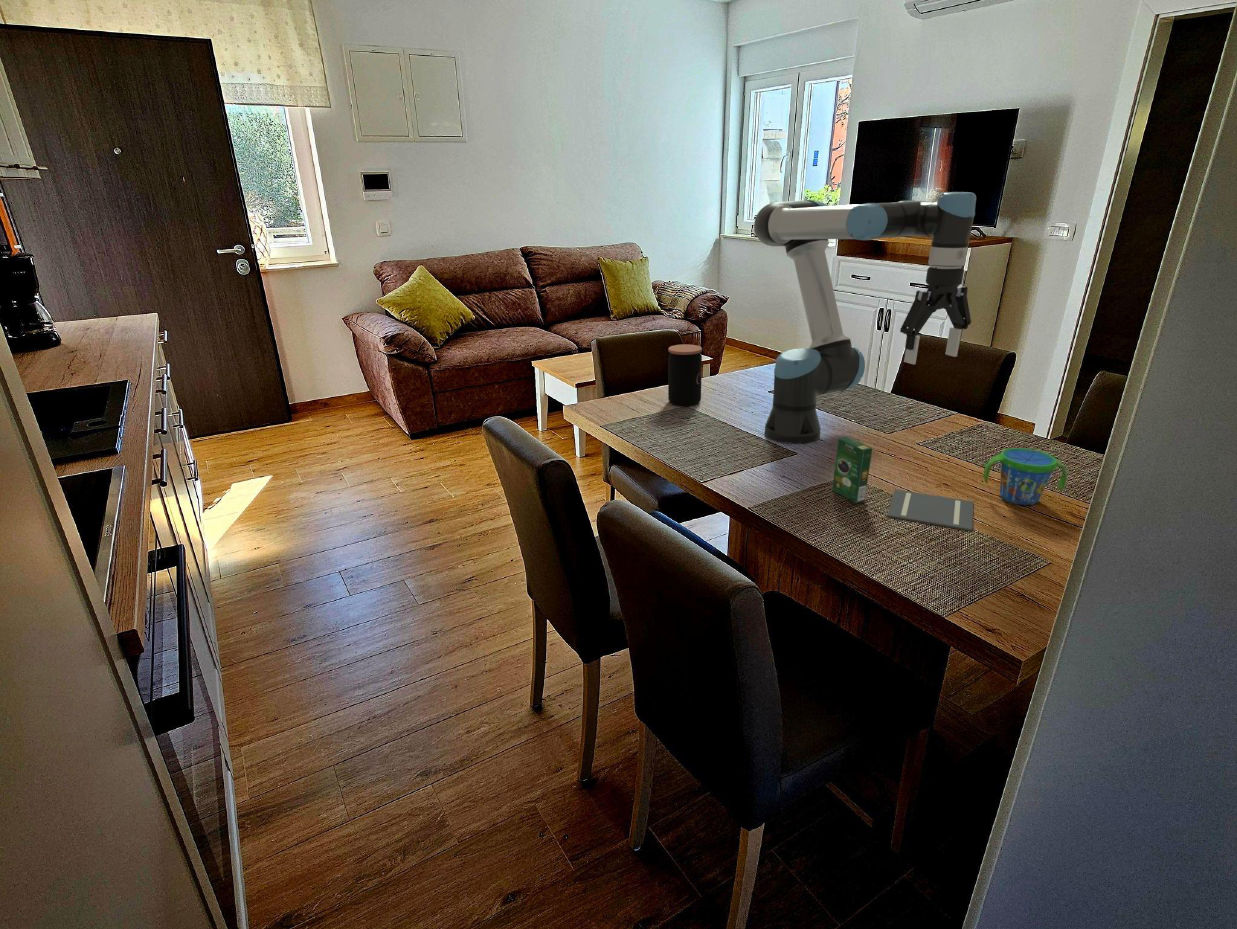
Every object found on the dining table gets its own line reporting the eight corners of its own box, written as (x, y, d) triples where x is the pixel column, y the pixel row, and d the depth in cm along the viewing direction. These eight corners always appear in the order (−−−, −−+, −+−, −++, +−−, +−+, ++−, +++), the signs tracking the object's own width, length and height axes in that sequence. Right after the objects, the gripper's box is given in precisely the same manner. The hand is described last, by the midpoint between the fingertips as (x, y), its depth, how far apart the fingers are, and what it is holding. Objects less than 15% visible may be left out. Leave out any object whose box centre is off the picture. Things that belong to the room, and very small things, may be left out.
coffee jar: (702, 407, 214) (703, 351, 207) (669, 407, 215) (669, 352, 208) (699, 397, 224) (700, 343, 217) (667, 398, 224) (667, 344, 218)
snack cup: (1055, 494, 149) (1066, 451, 146) (1065, 514, 140) (1076, 470, 137) (977, 485, 155) (985, 444, 151) (981, 504, 146) (990, 461, 142)
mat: (887, 516, 142) (887, 514, 142) (894, 490, 153) (895, 489, 153) (971, 531, 135) (972, 529, 135) (973, 503, 147) (973, 501, 146)
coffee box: (866, 502, 149) (873, 446, 143) (856, 504, 147) (863, 449, 142) (841, 488, 155) (847, 435, 150) (831, 491, 154) (837, 437, 149)
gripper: (919, 272, 142) (904, 370, 151) (999, 264, 152) (980, 355, 161) (892, 268, 149) (879, 362, 157) (970, 260, 158) (954, 349, 167)
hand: (930, 359), depth 159 cm, fingers open, 13 cm apart
